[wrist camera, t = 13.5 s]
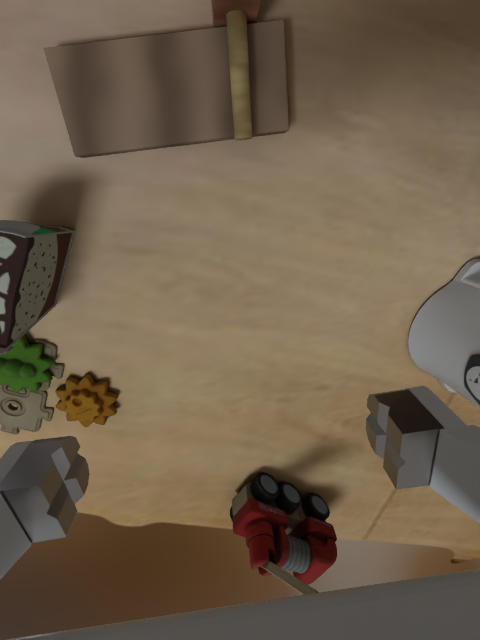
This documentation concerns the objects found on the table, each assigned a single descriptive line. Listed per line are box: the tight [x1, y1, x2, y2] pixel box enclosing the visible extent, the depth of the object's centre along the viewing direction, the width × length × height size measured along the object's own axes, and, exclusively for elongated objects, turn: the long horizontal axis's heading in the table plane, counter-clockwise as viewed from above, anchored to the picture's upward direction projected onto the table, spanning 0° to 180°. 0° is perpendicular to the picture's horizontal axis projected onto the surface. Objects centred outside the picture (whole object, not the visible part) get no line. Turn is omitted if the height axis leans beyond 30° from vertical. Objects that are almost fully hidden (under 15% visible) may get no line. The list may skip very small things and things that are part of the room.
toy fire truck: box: [230, 472, 337, 595], centre depth 45 cm, size 11×16×18 cm
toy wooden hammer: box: [212, 0, 261, 140], centre depth 27 cm, size 4×13×6 cm, turn 4°
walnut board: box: [44, 20, 289, 158], centre depth 29 cm, size 20×8×2 cm, turn 97°
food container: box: [0, 220, 75, 355], centre depth 30 cm, size 12×6×10 cm, turn 155°
